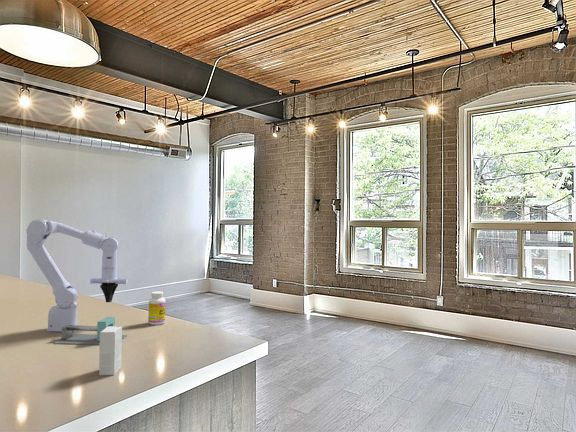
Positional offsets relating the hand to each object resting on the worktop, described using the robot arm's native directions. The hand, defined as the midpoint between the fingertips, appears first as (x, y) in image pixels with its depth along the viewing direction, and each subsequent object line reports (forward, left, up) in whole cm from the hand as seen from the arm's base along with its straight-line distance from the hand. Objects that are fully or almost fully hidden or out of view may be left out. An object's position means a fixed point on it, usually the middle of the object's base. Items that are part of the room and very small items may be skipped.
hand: (108, 301), depth 156 cm
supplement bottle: (+17, +7, -10) cm, 21 cm away
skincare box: (+23, -45, -10) cm, 52 cm away
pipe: (+2, -17, -10) cm, 20 cm away
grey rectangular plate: (+2, -17, -10) cm, 20 cm away
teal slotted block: (+8, -17, -10) cm, 21 cm away
